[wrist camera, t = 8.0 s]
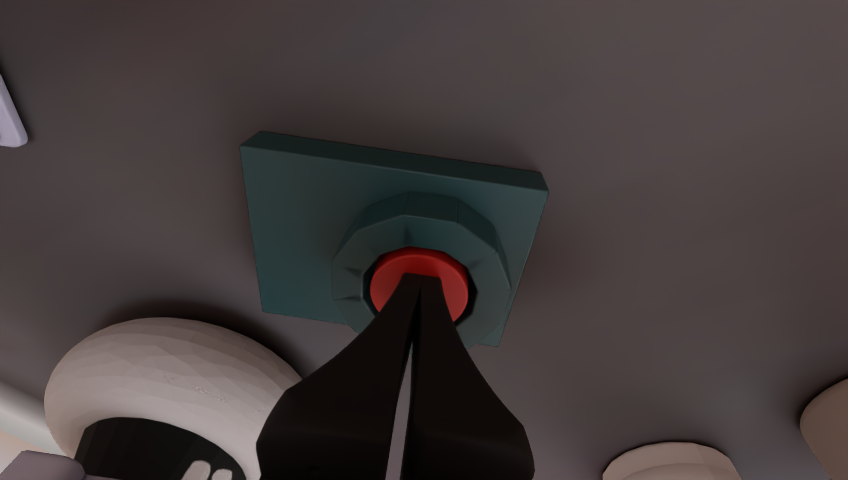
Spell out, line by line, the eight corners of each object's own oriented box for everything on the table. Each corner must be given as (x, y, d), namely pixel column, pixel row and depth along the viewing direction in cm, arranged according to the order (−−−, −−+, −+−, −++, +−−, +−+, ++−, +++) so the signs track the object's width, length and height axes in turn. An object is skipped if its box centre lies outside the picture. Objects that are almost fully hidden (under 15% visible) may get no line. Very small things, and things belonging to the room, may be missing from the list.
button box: (276, 288, 19) (243, 342, 16) (259, 130, 15) (210, 164, 12) (495, 321, 19) (501, 380, 16) (541, 172, 15) (561, 216, 12)
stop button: (375, 294, 17) (367, 324, 15) (380, 222, 15) (372, 248, 13) (459, 307, 17) (458, 337, 15) (475, 236, 15) (477, 263, 13)
